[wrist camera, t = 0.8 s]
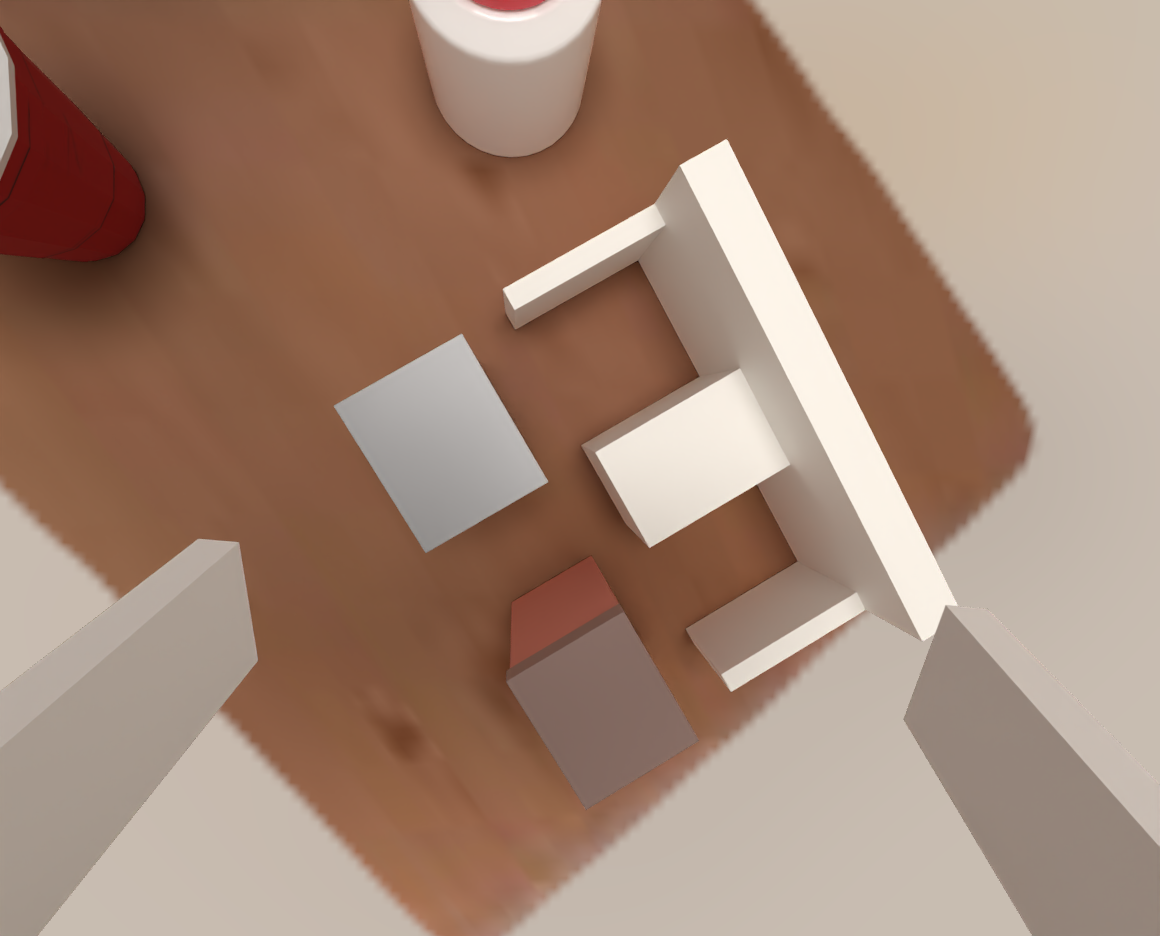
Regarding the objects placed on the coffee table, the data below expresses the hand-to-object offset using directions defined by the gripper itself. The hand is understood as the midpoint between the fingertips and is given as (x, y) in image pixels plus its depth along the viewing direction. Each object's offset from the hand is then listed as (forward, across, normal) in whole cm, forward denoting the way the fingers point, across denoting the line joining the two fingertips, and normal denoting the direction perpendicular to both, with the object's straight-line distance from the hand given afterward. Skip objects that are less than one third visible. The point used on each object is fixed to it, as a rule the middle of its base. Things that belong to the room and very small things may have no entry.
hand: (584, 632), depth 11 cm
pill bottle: (+26, -6, +14) cm, 30 cm away
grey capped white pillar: (+20, -7, -4) cm, 22 cm away
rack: (+22, +5, -4) cm, 23 cm away
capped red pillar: (+18, 0, -13) cm, 22 cm away
